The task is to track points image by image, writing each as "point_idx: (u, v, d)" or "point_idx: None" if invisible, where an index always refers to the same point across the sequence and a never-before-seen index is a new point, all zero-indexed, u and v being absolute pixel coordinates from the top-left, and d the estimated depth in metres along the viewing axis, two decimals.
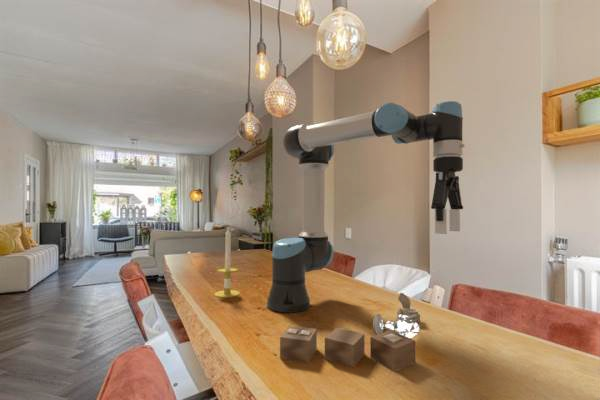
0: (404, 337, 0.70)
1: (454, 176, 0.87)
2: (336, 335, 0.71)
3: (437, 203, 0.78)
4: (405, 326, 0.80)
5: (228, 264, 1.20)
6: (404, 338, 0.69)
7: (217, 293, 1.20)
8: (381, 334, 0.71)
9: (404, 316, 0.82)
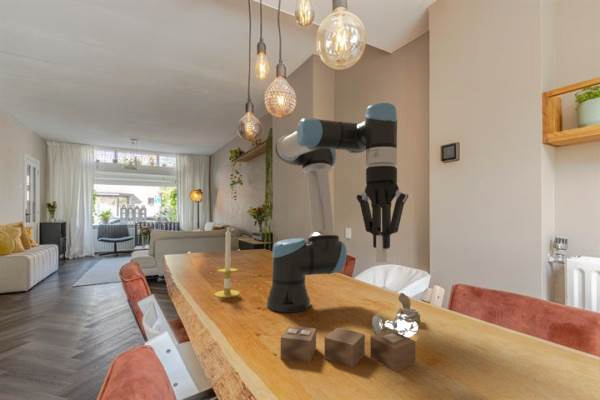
0: (404, 337, 0.70)
1: (390, 185, 0.73)
2: (336, 335, 0.71)
3: None
4: (404, 325, 0.80)
5: (228, 264, 1.20)
6: (404, 338, 0.69)
7: (217, 293, 1.20)
8: (381, 334, 0.71)
9: (403, 315, 0.82)
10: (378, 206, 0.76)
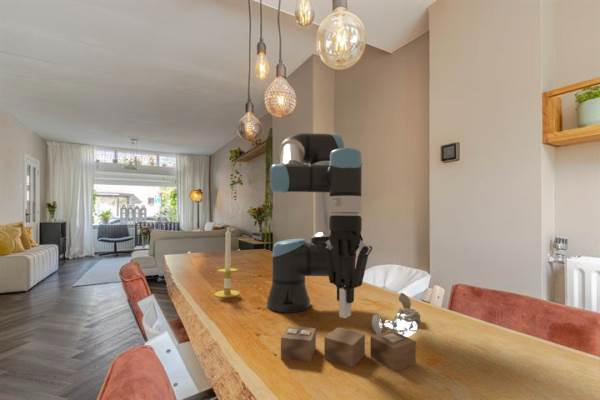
0: (404, 337, 0.70)
1: (353, 236, 0.68)
2: (336, 335, 0.71)
3: None
4: (404, 325, 0.81)
5: (228, 264, 1.20)
6: (404, 338, 0.69)
7: (217, 293, 1.20)
8: (381, 334, 0.71)
9: (403, 315, 0.83)
10: (342, 256, 0.71)
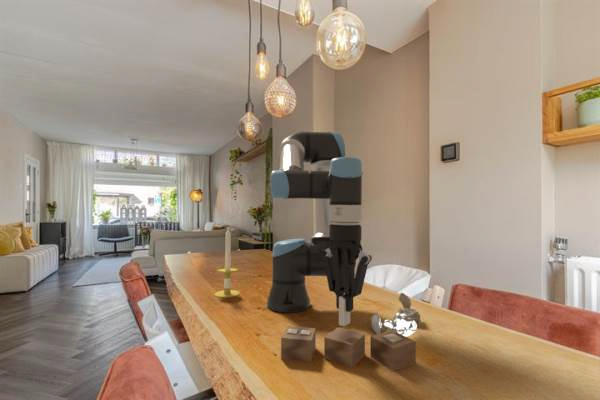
0: (404, 337, 0.70)
1: (353, 246, 0.69)
2: (336, 335, 0.71)
3: None
4: (404, 324, 0.81)
5: (228, 264, 1.20)
6: (404, 338, 0.69)
7: (217, 293, 1.20)
8: (381, 334, 0.72)
9: (402, 314, 0.83)
10: (342, 265, 0.72)
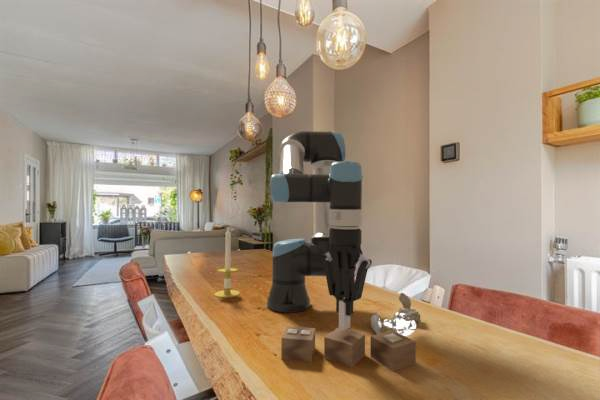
0: (405, 337, 0.70)
1: (353, 250, 0.68)
2: (336, 335, 0.71)
3: None
4: (403, 324, 0.81)
5: (228, 264, 1.20)
6: (404, 338, 0.69)
7: (217, 293, 1.20)
8: (381, 334, 0.72)
9: (402, 314, 0.83)
10: (342, 269, 0.72)
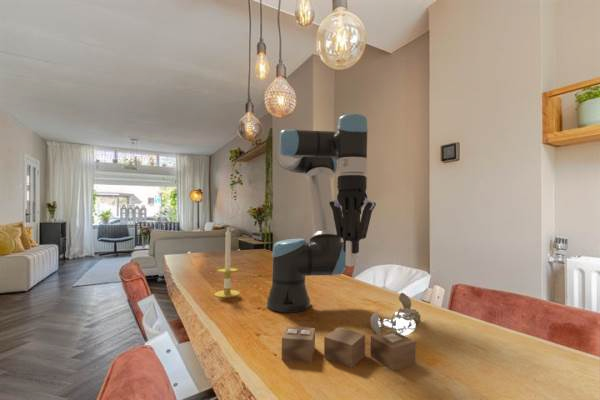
0: (405, 338, 0.70)
1: (359, 194, 0.76)
2: (336, 335, 0.71)
3: None
4: (403, 323, 0.82)
5: (228, 264, 1.20)
6: (404, 339, 0.69)
7: (217, 293, 1.20)
8: (382, 334, 0.72)
9: (401, 313, 0.84)
10: (348, 213, 0.79)
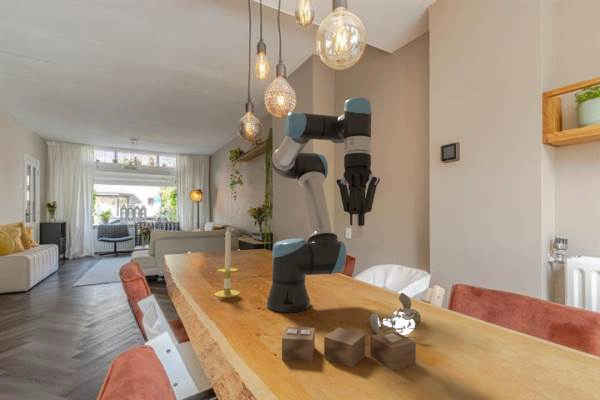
0: (405, 338, 0.69)
1: (364, 170, 0.83)
2: (336, 335, 0.71)
3: None
4: (402, 323, 0.82)
5: (228, 264, 1.20)
6: (404, 339, 0.69)
7: (217, 293, 1.20)
8: (382, 334, 0.72)
9: (401, 313, 0.84)
10: (354, 189, 0.86)
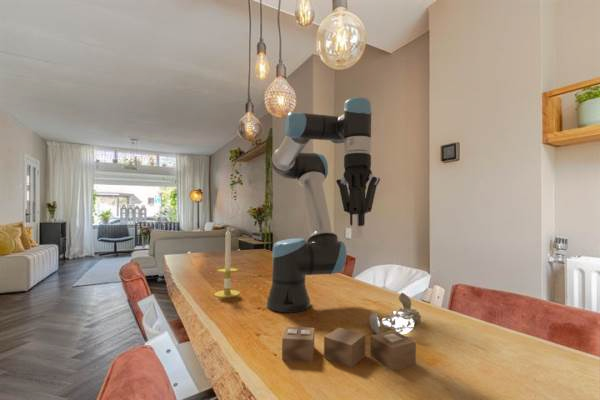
0: (405, 338, 0.69)
1: (364, 170, 0.83)
2: (336, 334, 0.71)
3: None
4: (402, 322, 0.83)
5: (228, 264, 1.20)
6: (404, 339, 0.69)
7: (217, 293, 1.20)
8: (382, 334, 0.72)
9: (400, 312, 0.85)
10: (354, 189, 0.86)
